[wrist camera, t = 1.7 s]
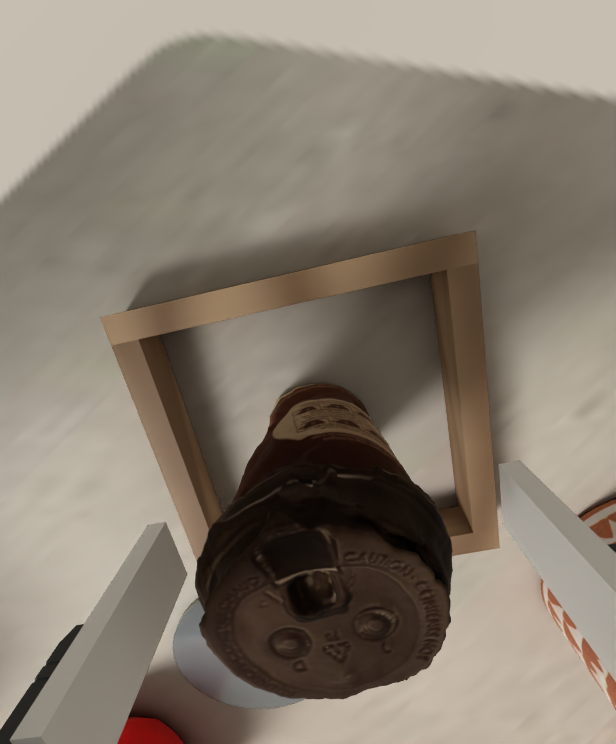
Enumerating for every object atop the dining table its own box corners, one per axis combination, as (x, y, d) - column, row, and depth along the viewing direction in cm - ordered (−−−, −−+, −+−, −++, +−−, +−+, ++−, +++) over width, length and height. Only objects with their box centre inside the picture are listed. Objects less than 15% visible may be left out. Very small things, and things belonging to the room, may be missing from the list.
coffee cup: (280, 339, 21) (233, 452, 8) (407, 386, 21) (542, 555, 9) (237, 460, 23) (149, 690, 11) (352, 498, 24) (398, 754, 11)
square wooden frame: (220, 564, 26) (210, 595, 23) (125, 311, 20) (100, 317, 18) (481, 520, 24) (499, 547, 22) (454, 234, 19) (475, 230, 16)
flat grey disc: (204, 709, 30) (201, 718, 30) (152, 598, 27) (149, 605, 26) (350, 688, 29) (351, 697, 29) (318, 570, 26) (318, 577, 25)
